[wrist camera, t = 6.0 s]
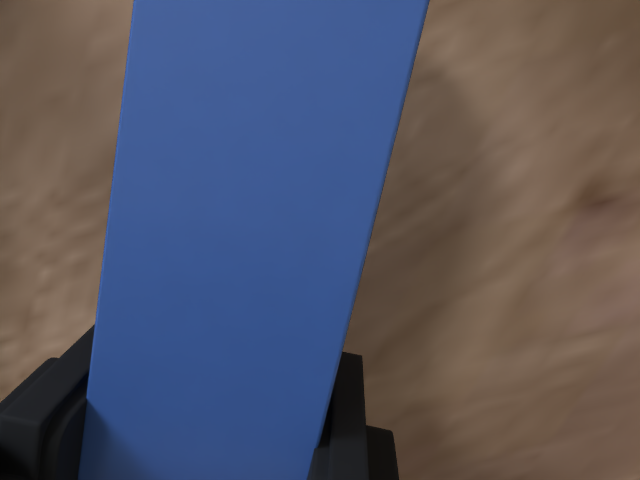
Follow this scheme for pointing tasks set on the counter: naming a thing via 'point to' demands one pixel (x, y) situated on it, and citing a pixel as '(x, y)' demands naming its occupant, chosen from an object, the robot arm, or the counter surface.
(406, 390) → the counter surface
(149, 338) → the blue bar
